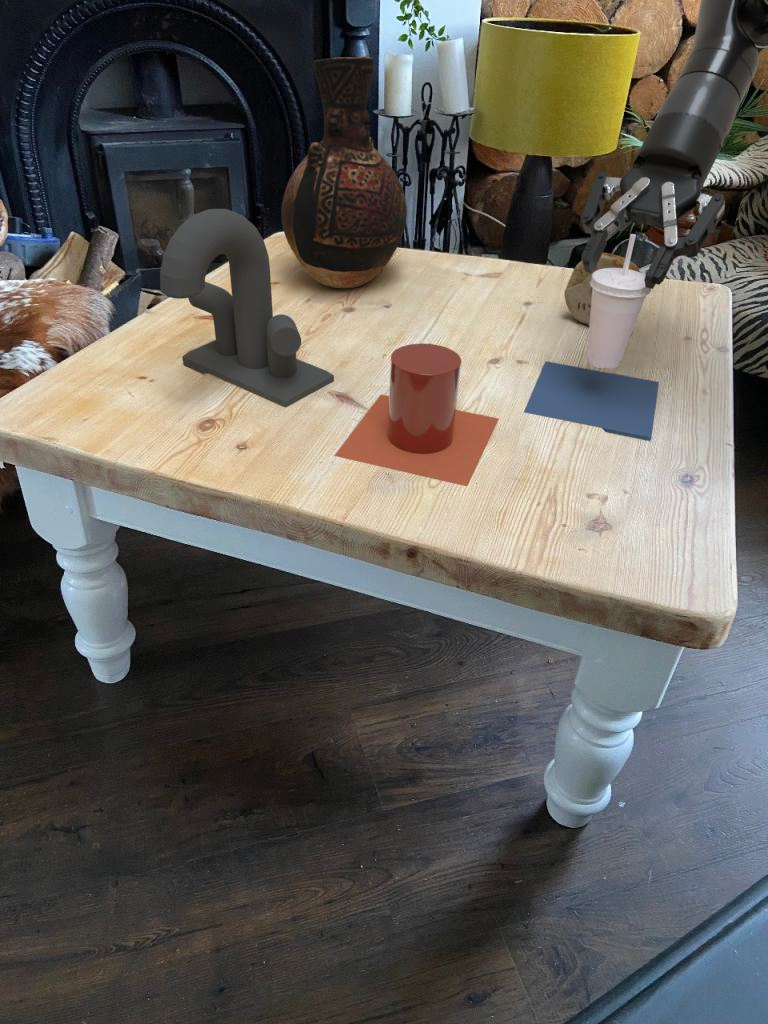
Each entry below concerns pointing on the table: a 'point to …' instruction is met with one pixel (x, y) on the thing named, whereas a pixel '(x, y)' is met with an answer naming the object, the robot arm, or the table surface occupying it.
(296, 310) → the table surface
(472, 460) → the terracotta mat
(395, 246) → the ceramic vessel
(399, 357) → the canister
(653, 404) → the blue mat
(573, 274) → the stone disc
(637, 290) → the smoothie
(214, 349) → the faucet
